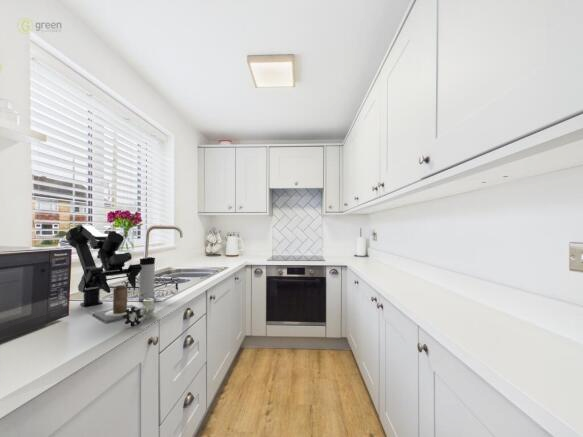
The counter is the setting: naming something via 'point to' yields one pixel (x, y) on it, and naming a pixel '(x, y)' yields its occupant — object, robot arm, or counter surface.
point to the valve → (140, 312)
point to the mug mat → (112, 315)
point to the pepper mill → (120, 299)
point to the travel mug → (146, 278)
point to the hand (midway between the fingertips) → (122, 290)
